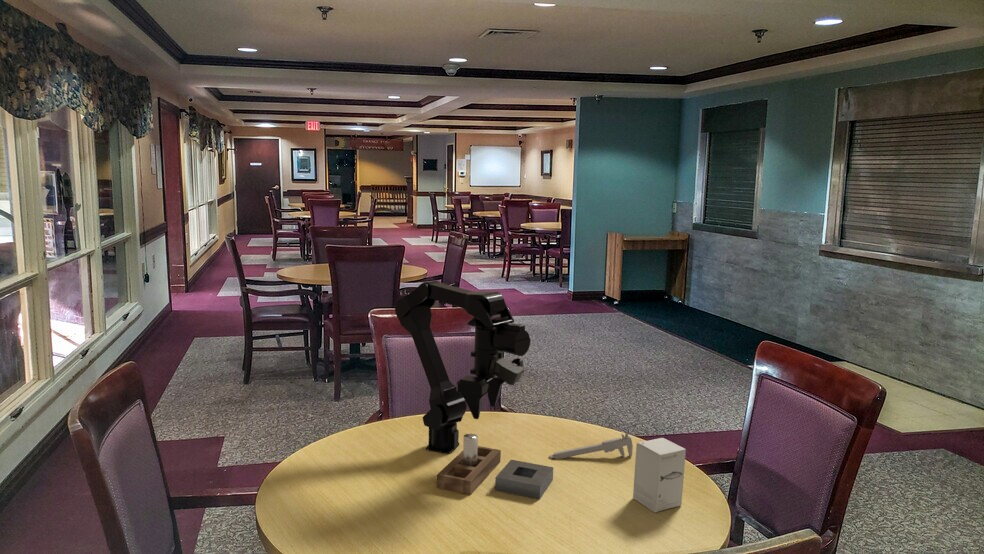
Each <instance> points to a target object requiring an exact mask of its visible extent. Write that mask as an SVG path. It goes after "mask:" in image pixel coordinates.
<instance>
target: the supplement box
mask: <svg viewBox="0 0 984 554" xmlns="http://www.w3.org/2000/svg"><path fill="white" fill-rule="evenodd" d="M635 449H636V450H635V464H634V474H633V475H634V477H633V489H632V490H633V491H632V498H633V500H635V501H637V502H638V503H640V504H641V505H643V506H644V507H645V508H647V509H648V510H650V511H651V512H653V513H655V514H656V513H658V512H662V511H665V510H669V509H672V508H676V507H680V506H682V504H683V493H684V478H685V476H684V475H685V465H686V454H687V449H686V448H685V447H682V446H681V445H679V444H676V443H674V442H672V441H671V440H668V439H666V438H664V437H658V438H654V439H650V440H644V441H639V442H636V448H635Z"/></svg>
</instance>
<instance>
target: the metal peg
mask: <svg viewBox="0 0 984 554" xmlns="http://www.w3.org/2000/svg"><path fill="white" fill-rule="evenodd" d="M478 441H479V436H478V435H477V434H475V433H465V434H464V435H463V446H462V447H463V450H462V451H463V465H466V466H471V467H476V466H477V455H478V446H479V445H478V443H479V442H478Z"/></svg>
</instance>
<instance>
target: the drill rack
mask: <svg viewBox="0 0 984 554" xmlns="http://www.w3.org/2000/svg"><path fill="white" fill-rule="evenodd" d="M501 452H502V451H501V449H498V448H492V447H485V446H481V445H478V455H477V466H476V467H471V466H466V465H463V450H462V451H460V452H459V453H458V455H456V456H455V457H454V458H453V459H452V460H451V461H450V462H449V463H447V464H446V465H445V466H443V467H444V468H442V469H441V470H440V471H439V472H438V473H437V474H436V489H441V490H447V491H450V492H456V493H461V494H465V495H469V496H471V495H472V494H473V493H474V492H475V491H476V490H477V489H478V487H480V485H482V484H483V482H484V481H485V480H486V479H487V478H488V476H489V475H490V474H491V473H492V472H493V471H494V470H495V469H496V467H497V466H498V465H500V463H501V455H502V454H501Z"/></svg>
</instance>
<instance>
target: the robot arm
mask: <svg viewBox="0 0 984 554" xmlns="http://www.w3.org/2000/svg"><path fill="white" fill-rule="evenodd" d="M437 302H440V303H444V304H446V305H450V306H454V307H456V308H461V309H463V310H464V311H465V312H466V313H467V314H468V315H469V316H471V317H472V318H471V319H470V320H469V321H468V322H467V325H468V326H471V327H474V346H473V350H472V351H470V357H472V358H473V368H470V373H469V375H465V376H464V377H462V378H460V379H458V381H456V385H454V384H453V382H451V381H450V378H449V375H448V372H447V369H446V367H445V364H444V361H443V359H442V356H441V353H440V351H439V348H438V346H437V345H438V344H437V342H436V340H435V337H434V334H433V331H432V328H431V325H432V318H433V313H432V310H431V309H432V308H434V306H435V305H436V303H437ZM394 312H395V315H396V317H397V319H398V321H399V323H400V326H401V327H402V328H404V329H405V330H406V331H407V332H408V333H410V336H411V337H412V340H413V343H414V345H415V348H416V351H417V354H418V357H419V359H420V363H421V365H422V368H423V370H424V374H425V376H426V379H427V383H428V384H429V387H430V392H429V399H428V404H429V408H430V409H429V410H428V411H427V412H426V413H425V414H424V415H423V416H422V421H423V422H422V423H423V426H425V427H427V428H428V445H427V446H425V450H426V451H430V452H437V453H441V454H447V455H449V454H451V453H452V452H453V451H455V449H456V448H458V447H459V446H460V442H459V434H460V433H459V429H458V423H460V422H462V420H463V417H464V416H465V413H466V410H467V409H469V411H470V413H471V415H472V418H473V419H474V420H479V419H480V414H481V408H482V404H483V403H482V402H483V398H484V397H485V396H486V395H487V398H488V402H489V406H490V407H492V408H495V407H496V405H497V402H498V399H499V396H500V392H501V391H502V390H501V389H502V386H503V384H505V383H506V384H507V385H510V386H515V384H516V383H518V382H520V379H521V376H522V375H523V374H524V372H525V370H524V369H525V366H524V362H523V361H524V360H523V358H520V357H523V356H525V355H526V354H527V352H528V351H529V350H530V346H531V340H532V339H531V337H530V334H529V332H528V331H527V330H526V325H525V324H522V323H515V319H514V317H513V315H512V314H511V312H510V309H509V307H508V305H507V303H506V302H505V298H504V297H503V294H502V293H501V292H499V291H496V290H495V291H493V290H492V291H490V290H489V291H487V290H484V291H483V290H481V291H472V290H468V289H465V288H461V287H459V286H458V287H457V286H453V285H450V284H446V283H444V282H440V281H438V280H429V281H423V282H422V283H420V284H419V285H418V286H417V287H416V288H415V289H414V290H412V291H410V292H409V293H407V294H406V295H404V296H403V297H402V298H399V299H398V300H397V301H396V306H395V307H394ZM504 353H507V354H509V355H510V354H511V355H514V356H517V357H515V358H514V359H513V360H512V359H506V358H505V357H504ZM473 375H475V376H473Z"/></svg>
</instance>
